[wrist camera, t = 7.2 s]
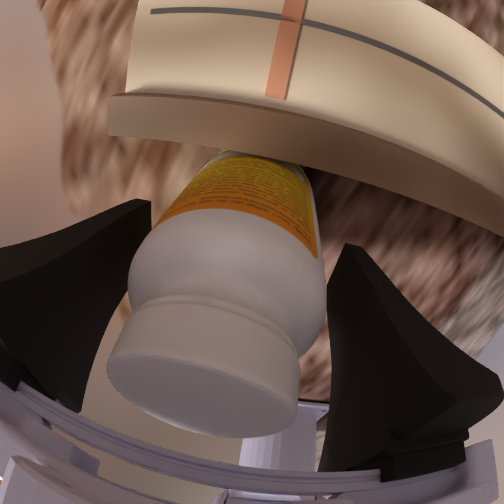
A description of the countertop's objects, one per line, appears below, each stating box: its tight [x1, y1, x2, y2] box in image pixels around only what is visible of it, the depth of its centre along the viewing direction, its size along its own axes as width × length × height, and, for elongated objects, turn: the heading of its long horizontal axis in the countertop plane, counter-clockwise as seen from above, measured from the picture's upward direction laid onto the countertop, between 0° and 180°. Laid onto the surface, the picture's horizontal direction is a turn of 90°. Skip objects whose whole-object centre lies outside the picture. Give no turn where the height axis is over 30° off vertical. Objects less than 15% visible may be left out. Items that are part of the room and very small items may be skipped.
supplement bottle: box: [107, 149, 327, 438], centre depth 9 cm, size 5×5×10 cm
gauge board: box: [108, 0, 504, 237], centre depth 8 cm, size 8×21×2 cm, turn 80°
